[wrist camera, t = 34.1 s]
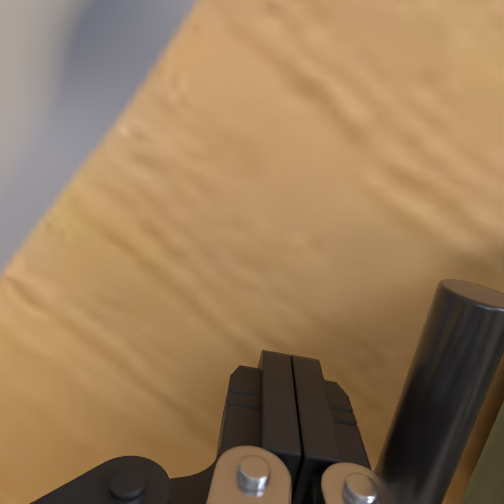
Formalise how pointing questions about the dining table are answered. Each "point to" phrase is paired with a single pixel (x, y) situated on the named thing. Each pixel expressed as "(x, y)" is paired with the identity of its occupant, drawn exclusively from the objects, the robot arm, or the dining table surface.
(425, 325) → the drawer
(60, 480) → the dining table surface
